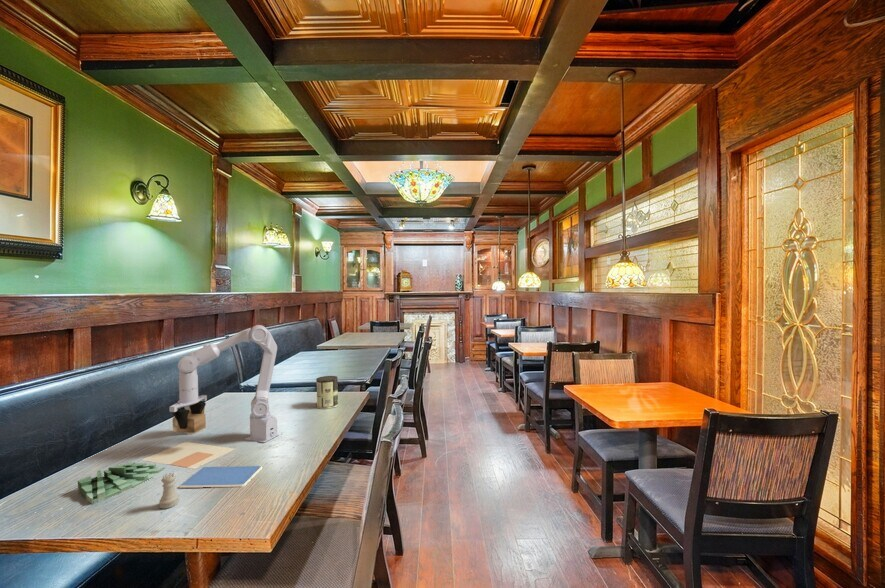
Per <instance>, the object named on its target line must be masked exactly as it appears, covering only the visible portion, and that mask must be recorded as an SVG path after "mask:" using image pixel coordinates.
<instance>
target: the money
mask: <svg viewBox="0 0 885 588" xmlns="http://www.w3.org/2000/svg"><path fill="white" fill-rule="evenodd" d="M156 466H157V464H156V463H149V464H148V463H147V462H141V463H140V462H139V463H136V462H135V461H134V462H126V463H124V464H117V465H115V466H111V467H110V466H109V467H108V469H107V470H103V472H102V469H100V470H97V471H96V472H97V473H96V476H95V477H92V476H91V475H90V476H87V477H85V478H82V479H79V480H77V490H78V491H77V493H78V494H79V495H80V494H81V495H80V496H81V497H83V498H84V497H85V498H84V499H86V501H87V502H89V503H90V504H91V505H95V504H98V503H101V502H104V501H105V500H108V499H110V497H111V498H112V496H113V497H116V496H117V495H120V494H123V493H124V491H125V492H127V491H130V490H132V489H134V488H136V486H137V487H138V485H139V486H140V484H141V485H143V484H144V483H146V482H148V481H150V480H149V479H151V478H154V477H155V476H157V475H158V474H159V473H160V472H163V471H164V470H165V469H166V466H165V467H156ZM147 480H148V481H147ZM151 480H152V479H151ZM145 481H146V482H145ZM143 482H144V483H143ZM142 483H143V484H142ZM131 488H132V489H131ZM129 489H130V490H129ZM122 492H123V493H122ZM115 495H116V496H115Z"/></svg>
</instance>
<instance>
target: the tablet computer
mask: <svg viewBox="0 0 885 588" xmlns="http://www.w3.org/2000/svg"><path fill="white" fill-rule="evenodd" d="M262 469H263V466H261V465H251V466H250V465H244V466H242V465H241V466H240V465H239V466H238V465H237V466H203V467H202V468H200V469H199V470H198V471H197V472H195V473H194V474H192V475H191V476H190V477H188V478H187V479H186V480H185V481H183V482H182V483H181V484H180V485H178V489H195V488H196V489H199V488H201V489H203V487H211V488H244V487H245V486H247V485H248V483H250V481H252V480H253V478H255V477H256V475H258V474H259V472H260V471H261V470H262Z"/></svg>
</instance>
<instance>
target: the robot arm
mask: <svg viewBox="0 0 885 588" xmlns="http://www.w3.org/2000/svg"><path fill="white" fill-rule="evenodd" d="M251 341H252V342H254V343H255V344H256V345H259V346H260V347H261V349H262V350H263V354H262V355H263V356H262V360H261V366H260V370H259V376H258V380H257V387H256V390H255V394H254V397H253V398H252V400H251V401H250V407H251V408H250V411H251V412H250V415H249V435H250V436H248V437H246V438H244V440H246V441H253V442H258V443H267V442H269V441H270V440H273V439H274V438H276V437H278V436H279V435H280V434H279V433H278V420H277V417H276V416H273V415H272V414H271V411H270V404H269V398H270V397H269V396H270V390H271V389H270V388H271V384H272V380H273V379H272V378H273V373H274V368H275V363H276V358H277V352H278V345H277V343H276V341H275V339H274V337H273V335H272V333H271V332H270V330H269V329H267V327H265V326H264V325H262V324H256V325H254V326H252V327H249V328H246V329H243V330H241V331H239V332H237V333H236V334H233V335H231V336H230V337H228V338H226V339H224V340H222V341H221V342H219V343H217V344H214V343H208V344H207V343H206V344H203V345H202V347H201V348H199V349H197V350H195V351H190V352H189V354H187V355H185V356H183V357H182V358H180V360H179V361H178V362H177V369H178V370H179V373H178V374H179V377H178V391H179V399H178V400H177V402H176V403H174V404H172V405H170V406H169V407H168V408H169V409H168V410H169V413H171V414H172V415H173V416H174V417H175V418H176V419H177V422H178V424H179V427H180V429H186V427H187V417H188V413H189V411H190V410H191V414H201V413H202V411H203V409H204V407H205V406H206V404H207V403H206V401H207V400H208V395H207V394H200V395H201V396H198V395H199V376H198V367H203V366H204V365H206V364H207V363H209V362H211V361H213V360H216V359H217V358H219V357H220V354H221V352H224V351H225V350H227V349H229V348H231V347H234V346H235V345H238V344H240V343H244V342H245V343H247V342H248V343H250V342H251ZM202 401H205V402H202ZM188 406H189V407H190V410H186V409H185V407H188ZM205 408H206V407H205ZM204 410H205V409H204Z"/></svg>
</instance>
